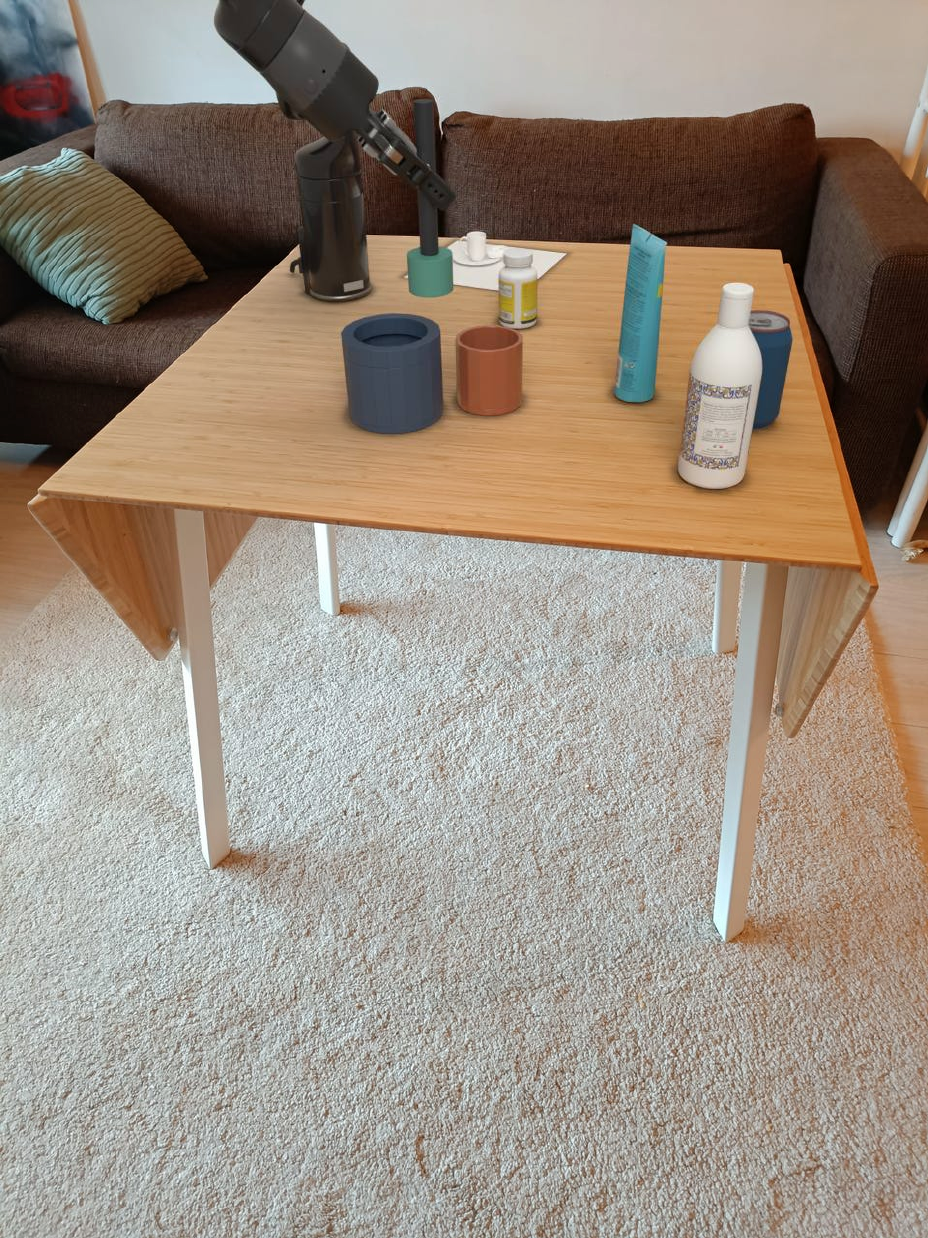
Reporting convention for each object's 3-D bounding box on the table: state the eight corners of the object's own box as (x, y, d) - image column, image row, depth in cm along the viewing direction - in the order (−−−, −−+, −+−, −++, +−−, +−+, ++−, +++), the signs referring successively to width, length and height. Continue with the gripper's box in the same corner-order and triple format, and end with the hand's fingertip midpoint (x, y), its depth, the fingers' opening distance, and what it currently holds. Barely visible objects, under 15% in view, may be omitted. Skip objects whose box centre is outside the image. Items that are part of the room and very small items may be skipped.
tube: (667, 402, 119) (686, 238, 107) (634, 410, 117) (649, 245, 105) (633, 379, 124) (647, 220, 112) (600, 387, 122) (611, 227, 110)
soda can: (775, 409, 116) (794, 309, 109) (778, 436, 111) (797, 333, 104) (715, 405, 118) (730, 306, 110) (715, 431, 112) (730, 329, 105)
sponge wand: (400, 293, 109) (388, 103, 98) (423, 279, 113) (414, 93, 101) (439, 300, 107) (432, 107, 96) (461, 285, 111) (457, 97, 99)
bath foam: (697, 452, 109) (723, 269, 96) (755, 471, 105) (789, 284, 93) (664, 477, 104) (686, 289, 92) (723, 498, 101) (754, 305, 89)
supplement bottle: (537, 315, 141) (539, 245, 135) (535, 330, 137) (537, 258, 131) (499, 315, 142) (499, 245, 136) (497, 329, 138) (497, 258, 132)
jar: (331, 422, 116) (321, 340, 110) (381, 385, 124) (374, 307, 118) (413, 441, 112) (407, 357, 106) (459, 402, 120) (457, 322, 114)
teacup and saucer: (513, 255, 162) (513, 230, 160) (494, 270, 157) (494, 244, 154) (465, 249, 165) (464, 224, 163) (444, 264, 160) (443, 238, 157)
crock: (446, 408, 119) (443, 344, 114) (475, 382, 124) (474, 321, 119) (504, 420, 116) (504, 355, 111) (532, 394, 121) (533, 331, 116)
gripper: (352, 55, 89) (485, 188, 98) (336, 33, 99) (458, 155, 109) (300, 124, 91) (435, 247, 101) (290, 95, 102) (413, 209, 111)
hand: (446, 199), depth 105 cm, fingers closed on sponge wand
